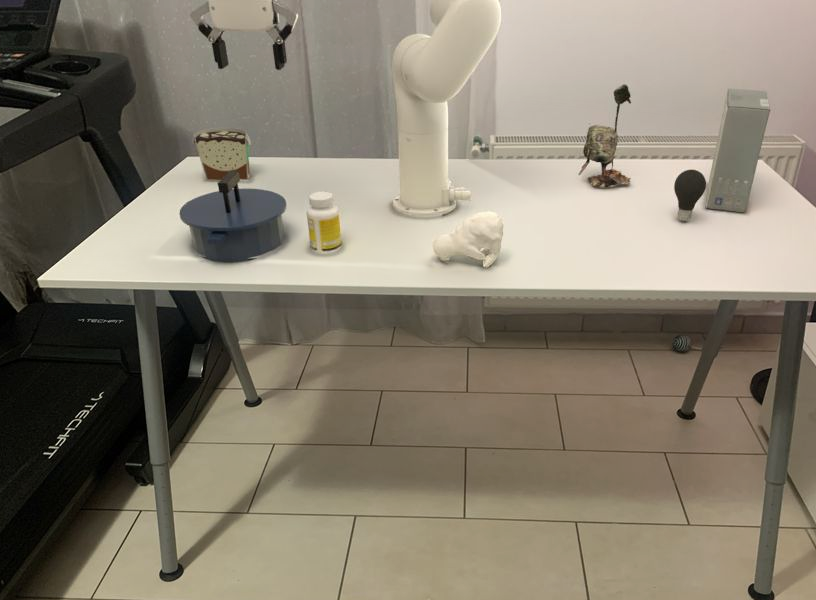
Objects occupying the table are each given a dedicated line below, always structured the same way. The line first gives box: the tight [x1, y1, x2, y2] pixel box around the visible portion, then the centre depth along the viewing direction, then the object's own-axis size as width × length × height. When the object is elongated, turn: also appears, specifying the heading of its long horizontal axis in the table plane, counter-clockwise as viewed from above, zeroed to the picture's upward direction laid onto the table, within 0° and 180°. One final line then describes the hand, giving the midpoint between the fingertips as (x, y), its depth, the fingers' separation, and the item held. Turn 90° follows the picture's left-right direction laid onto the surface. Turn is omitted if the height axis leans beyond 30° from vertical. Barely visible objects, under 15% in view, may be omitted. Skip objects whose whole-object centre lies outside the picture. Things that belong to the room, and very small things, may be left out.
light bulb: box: [673, 169, 707, 223], centre depth 133 cm, size 6×6×10 cm
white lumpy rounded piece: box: [432, 211, 504, 269], centre depth 120 cm, size 6×8×12 cm
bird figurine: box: [577, 83, 632, 188], centre depth 148 cm, size 8×11×20 cm
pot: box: [189, 215, 286, 263], centre depth 126 cm, size 16×21×6 cm
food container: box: [192, 127, 252, 182], centre depth 155 cm, size 12×6×10 cm, turn 84°
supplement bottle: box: [306, 191, 342, 254], centre depth 124 cm, size 5×5×10 cm
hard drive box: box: [705, 88, 772, 213], centre depth 141 cm, size 16×8×20 cm, turn 162°
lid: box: [178, 171, 288, 231], centre depth 123 cm, size 18×18×6 cm
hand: (251, 67), depth 119 cm, fingers open, 9 cm apart
